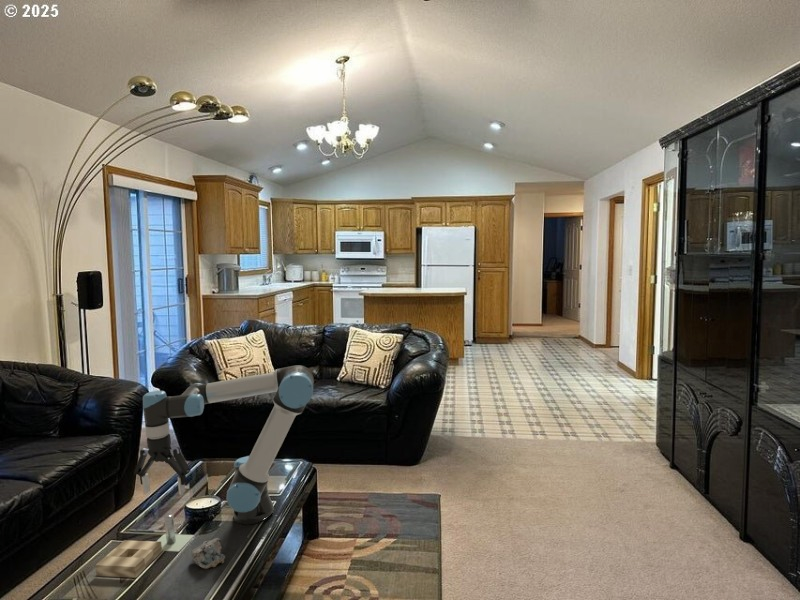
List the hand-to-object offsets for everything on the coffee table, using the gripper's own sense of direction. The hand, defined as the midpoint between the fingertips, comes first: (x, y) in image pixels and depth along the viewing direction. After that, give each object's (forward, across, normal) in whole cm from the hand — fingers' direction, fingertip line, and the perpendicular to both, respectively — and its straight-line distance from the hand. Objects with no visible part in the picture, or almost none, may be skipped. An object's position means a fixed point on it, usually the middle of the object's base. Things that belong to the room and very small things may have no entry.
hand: (164, 492), depth 181 cm
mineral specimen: (+19, -20, +10) cm, 30 cm away
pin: (+18, -1, 0) cm, 18 cm away
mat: (+19, -1, 0) cm, 19 cm away
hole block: (+19, +6, +13) cm, 24 cm away
